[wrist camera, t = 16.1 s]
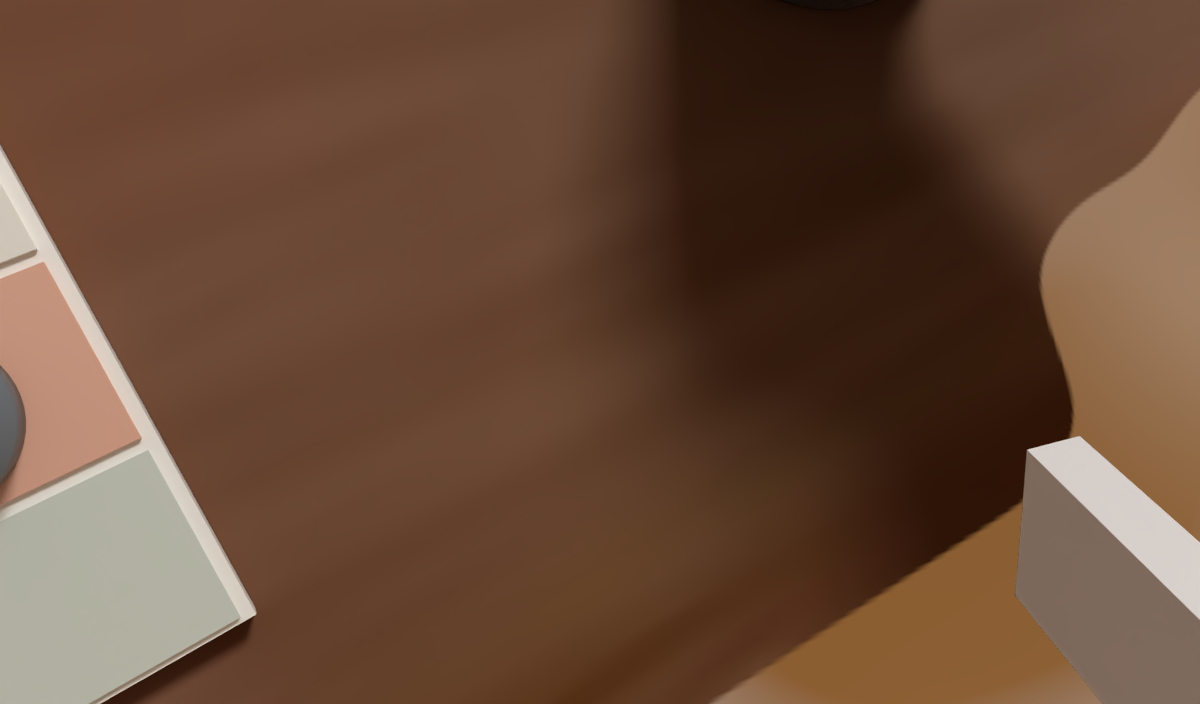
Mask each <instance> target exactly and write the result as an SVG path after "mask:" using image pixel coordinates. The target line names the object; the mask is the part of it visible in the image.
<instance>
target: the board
mask: <svg viewBox="0 0 1200 704" xmlns="http://www.w3.org/2000/svg"><path fill="white" fill-rule="evenodd" d="M0 365H1V366H2V368H3V369H4V370H5V371H6V372H7V373H8V374H9V376H10V377H11V379H12V380H13V382H14V383H15V385H16V386H17V389H18V391H19V393H20V395H21V398H22V401H23V404H24V408H25V415H26V434H25V440H24V445H23V448H22V451H21V454H20V456H19V458H18V460H17V462H16V465H15V466H14V468H13V469H12V471H11V472H10V474H9V475H8V477H7V478H6V479H5V480H4V481H3V483H2V484H1V485H0V704H101V703H102V702H104V701H106V700H108V699H109V698H111V697H113V696H115V695H116V694H118V693H120V692H122V691H123V690H125V689H127V688H129V687H130V686H132V685H134V684H136V683H137V682H139V681H141V680H143V679H144V678H146V677H148V676H150V675H151V674H153V673H155V672H157V671H158V670H160V669H162V668H164V667H165V666H167V665H169V664H171V663H172V662H174V661H176V660H178V659H179V658H181V657H183V656H185V655H186V654H188V653H190V652H192V651H193V650H195V649H197V648H199V647H200V646H202V645H204V644H206V643H207V642H209V641H211V640H213V639H214V638H216V637H218V636H220V635H221V634H223V633H225V632H227V631H228V630H230V629H232V628H234V627H235V626H237V625H239V624H241V623H242V622H244V621H246V620H248V619H249V618H251V617H253V616H254V615H256V609H255V606H254V605H253V603H252V601H251V599H250V597H249V596H248V594H247V592H246V590H245V588H244V586H243V585H242V583H241V581H240V579H239V577H238V576H237V574H236V572H235V570H234V568H233V567H232V565H231V563H230V561H229V559H228V557H227V556H226V554H225V552H224V550H223V548H222V547H221V545H220V543H219V541H218V539H217V537H216V536H215V534H214V532H213V530H212V528H211V527H210V525H209V523H208V521H207V519H206V517H205V516H204V514H203V512H202V510H201V508H200V507H199V505H198V503H197V501H196V499H195V498H194V496H193V494H192V492H191V490H190V488H189V487H188V485H187V483H186V481H185V479H184V478H183V476H182V474H181V472H180V470H179V468H178V467H177V465H176V463H175V461H174V459H173V458H172V456H171V454H170V452H169V450H168V449H167V447H166V445H165V443H164V441H163V439H162V438H161V436H160V434H159V432H158V430H157V429H156V427H155V425H154V423H153V421H152V419H151V418H150V416H149V414H148V412H147V410H146V409H145V407H144V405H143V403H142V401H141V400H140V398H139V396H138V394H137V392H136V390H135V389H134V387H133V385H132V383H131V381H130V380H129V378H128V376H127V374H126V372H125V370H124V369H123V367H122V365H121V363H120V361H119V360H118V358H117V356H116V354H115V352H114V350H113V349H112V347H111V345H110V343H109V341H108V340H107V338H106V336H105V334H104V332H103V331H102V329H101V327H100V325H99V323H98V321H97V320H96V318H95V316H94V314H93V312H92V311H91V309H90V307H89V305H88V303H87V301H86V300H85V298H84V296H83V294H82V292H81V291H80V289H79V287H78V285H77V283H76V282H75V280H74V278H73V276H72V274H71V272H70V271H69V269H68V267H67V265H66V263H65V262H64V260H63V258H62V256H61V254H60V252H59V251H58V249H57V247H56V245H55V243H54V242H53V240H52V238H51V236H50V234H49V232H48V231H47V229H46V227H45V225H44V223H43V222H42V220H41V218H40V216H39V214H38V213H37V211H36V209H35V207H34V205H33V203H32V202H31V200H30V198H29V196H28V194H27V193H26V191H25V189H24V187H23V185H22V183H21V182H20V180H19V178H18V176H17V174H16V173H15V171H14V169H13V167H12V165H11V164H10V162H9V160H8V158H7V156H6V154H5V153H4V151H3V149H2V147H1V145H0Z"/></svg>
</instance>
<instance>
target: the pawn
mask: <svg viewBox="0 0 1200 704" xmlns="http://www.w3.org/2000/svg"><path fill="white" fill-rule="evenodd" d="M25 434H26V415H25V408H24V404H23V401H22V398H21V395H20V393H19V391H18V389H17V386H16V385H15V383H14V382H13V380H12V379H11V377H10V376H9V374H8V373H7V372H6V371H5V370H4V369H3V368H2V366H1V365H0V485H1V484H2V483H3V481H4V480H5V479H6V478H7V477H8V475H9V474H10V472H11V471H12V469H13V468H14V466H15V465H16V462H17V460H18V458H19V456H20V454H21V451H22V448H23V445H24V440H25Z"/></svg>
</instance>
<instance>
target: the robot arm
mask: <svg viewBox="0 0 1200 704" xmlns="http://www.w3.org/2000/svg"><path fill="white" fill-rule="evenodd" d="M783 1H786V2H789V3H792V4H796V5H799V6H804V7H810V8H817V9H846V8H852V7H857V6H861V5H865V4H868V3H871V2H873V1H876V0H783ZM1015 596H1016V597H1017V599H1018V600H1019V601H1020V602H1021V603H1022V605H1023V606H1024V607H1025V608H1026V610H1027V611H1028V612H1029V613H1030V615H1031V616H1032V617H1033V618H1034V620H1035V621H1036V622H1037V623H1038V625H1039V626H1040V627H1041V628H1042V629H1043V631H1044V632H1045V633H1046V634H1047V636H1048V637H1049V638H1050V639H1051V641H1052V642H1053V643H1054V644H1055V646H1056V647H1057V648H1058V649H1059V651H1060V652H1061V653H1062V654H1063V655H1064V657H1065V658H1066V659H1067V661H1068V662H1069V663H1070V664H1071V665H1072V667H1073V668H1074V669H1075V671H1076V672H1077V673H1078V674H1079V675H1080V677H1081V678H1082V679H1083V680H1084V682H1085V683H1086V684H1087V685H1088V687H1089V688H1090V689H1091V690H1092V692H1093V693H1094V694H1095V695H1096V696H1097V698H1098V699H1099V700H1100V702H1101V703H1102V704H1200V542H1199V541H1197V540H1196V539H1195V538H1194V537H1193V536H1192V535H1191V534H1190V533H1188V532H1187V531H1186V530H1185V529H1184V528H1183V527H1181V526H1180V525H1179V524H1178V523H1177V522H1176V521H1175V520H1174V519H1172V517H1170V516H1169V515H1168V514H1167V513H1166V512H1165V511H1164V510H1162V509H1161V508H1160V507H1159V506H1158V505H1157V504H1156V503H1154V502H1153V501H1152V500H1151V499H1150V498H1149V497H1148V496H1147V495H1146V494H1144V493H1143V492H1142V491H1141V490H1140V489H1139V488H1138V487H1137V486H1135V485H1134V484H1133V483H1132V482H1131V481H1130V480H1128V478H1126V477H1125V476H1124V475H1123V474H1122V473H1121V472H1120V471H1118V470H1117V469H1116V468H1115V467H1114V466H1113V465H1112V464H1110V462H1108V461H1107V460H1106V459H1105V458H1104V457H1103V456H1102V455H1100V454H1099V453H1098V452H1097V451H1096V450H1095V449H1093V447H1091V446H1090V445H1089V444H1088V443H1087V442H1086V441H1085V440H1084V439H1082V438H1081V437H1080V436H1078V437H1074V438H1070V439H1066V440H1062V441H1059V442H1055V443H1051V444H1047V445H1043V446H1039V447H1036V448H1032V449H1028V450H1027V456H1026V468H1025V480H1024V493H1023V505H1022V517H1021V529H1020V541H1019V554H1018V565H1017V578H1016V590H1015Z"/></svg>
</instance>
